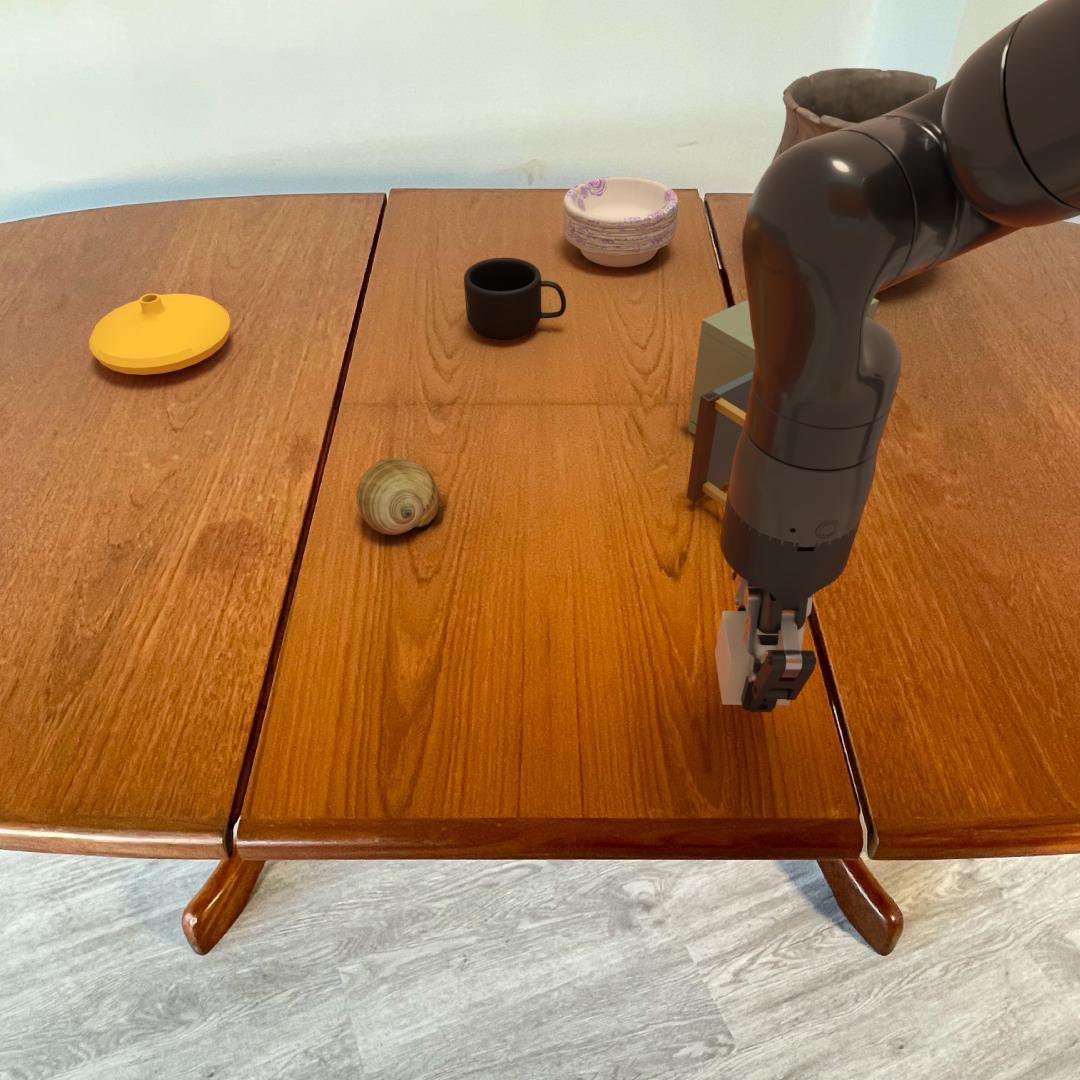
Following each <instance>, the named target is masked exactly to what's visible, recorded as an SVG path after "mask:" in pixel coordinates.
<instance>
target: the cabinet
mask: <svg viewBox="0 0 1080 1080" xmlns="http://www.w3.org/2000/svg"><path fill="white" fill-rule="evenodd" d="M878 305H879V299H876V298H875V297H874V298H873V300H872V302H871V304H870V307H869V309H868V312H867V315H866V316H868V317H870V318H872V319H874V320H875V316H876V313H877V312H876V311H877V309H878ZM697 349H698V351H697V358H696V364H695V373H694V381H693V388H692V395H691V404H690V409H689V410H690V411H689V418H688V419H689V421H688V424H687V425H688V426H687V431H688V432H689V433H691V434H692V435H694V436H695V432H696V425H697V418H698V411H699V403H700V396H701V395H703V394H705V393H707V392H709V391H711V390H712V391H713V390H715V389H717V388H720V387H722V386H724V385H726V384H728V383H730V382H732V381H734V380H736V379H738V378H740V377H742V376H744V375H746V374H748V373H750V372H752V371H754V368H755V364H756V356H755V348H754V341H753V336H752V329H751V322H750V312H749V303H748V299H746V300H744V301H742V302H738V303H736V304H735V305H732V306H730V307H728V308H726V309H723V310H721V311H718V312H716V313H714V314H712V315H709V316H707V317H705V318H703V319H701V328H700V336H699V342H698V348H697Z"/></svg>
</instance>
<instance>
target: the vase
mask: <svg viewBox="0 0 1080 1080" xmlns="http://www.w3.org/2000/svg"><path fill="white" fill-rule="evenodd" d="M231 321H232V320H231V318H230V315H229V312H228V311H227V310H226V309H225V308H224V307H223V306H222V305H221V304H219V303H218V302H216V301H214V300H212V299H210V298H207V297H206V296H202V295H198V294H197V295H196V294H192V293H191V294H190V293H166V294H158V293H147V294H144V295H142V296H140V298H139V299H137V300H134V301H130V302H127V303H126V304H123V305H121V306H119V307H117V308H114V309H113V310H112V311H110V312H108V313H107V314H105V315H104V316H103V317H102V318H100V320H99V321H98V322H97V323H96V324H95V326H94V328H93V330H92V332H91V335H90V337H89V339H88V346H89V351H90V352H91V353H92V354H93V356H94V357H95V358H96V359H97V361H98V362H99V363H100V364H101V365H102V366H104V367H106V368H108V369H110V370H111V371H114V372H118V373H122V374H127V375H140V376H141V375H142V376H145V375H157V374H158V375H159V374H165V373H166V374H167V373H169V372H174V371H179V370H182V369H185V368H187V367H191V366H193V365H196V364H198V363H200V362H202V361H204V360H206V359H208V358H209V357H211V356H212V355H213V354H215V353H216V352H218V350H220V349H221V348H223V346H224V345H225V343H226V342H227V340H228V339H229V335H230V331H231Z"/></svg>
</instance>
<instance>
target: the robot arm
mask: <svg viewBox="0 0 1080 1080" xmlns="http://www.w3.org/2000/svg"><path fill="white" fill-rule="evenodd" d="M771 162H772V161H771ZM771 162H770V164H769V166H768V167H767V168H766V169H765V171H764V172H763V174H762V175H761V177H760V179H759V180H758V183H757V185H756V186H755V188H754V190H753V192H752V195H751V197H750V200H749V203H748V206H747V209H746V213H745V216H744V220H743V226H742V233H741V234H742V235H741V252H742V253H741V255H742V264H743V265H742V266H743V272H744V280H745V287H746V295H747V300H748V303H749V312H750V322H751V329H752V336H753V341H754V348H755V356H756V364H755V368H754V372H753V378H752V382H751V388H750V394H749V399H748V405H747V411H746V416H745V422H744V426H743V429H742V432H741V435H740V437H739V440H738V443H737V446H736V450H735V454H734V459H733V464H732V470H731V476H730V482H728V488H727V493H726V494H727V500H726V505H725V507H724V511H723V517H722V523H721V530H720V536H719V543H720V544H719V545H720V550H721V553H722V555H723V558H724V560H725V562H726V564H727V565H729V567H730V568H731V569H732V571H733V572H732V574H731V578H732V581H733V584H734V592H735V597H734V598H733V603H734V606H735V610H736V611H746V619H745V629H744V638H743V640H744V643H745V646H746V649H747V652H748V653H749V654H750V655H749V664H748V669H747V676H746V680H745V685H744V689H743V693H742V697H741V702H742V705H741V708H742V710H744V711H746V712H749V713H772V712H773V710H775V709H776V706H777V705H776V703H777V699H786V700H791V701H795V700H796V699H797V698H798V696H799V695H800V693H801V692H802V690H803V688H804V687H805V685H806V684H807V682H808V681H809V679H810V677H812V676H811V675H812V674H813V673H814V671H815V669H816V665H817V657H816V654H815V652H814V650H813V649H812V650H811V649H810V650H808V649H807V650H805V649H804V650H803V649H802V648H803V641H804V637H805V636H804V635H805V627H806V622H807V621H806V620H807V618H808V617H809V616H810V615H811V613H812V608H813V599H814V594H817V593H818V592H819V591H821V590H822V589H825V588H826V587H828V586H830V585H832V584H833V583H834V582H835V581H836V580H837V579H838V578H839V577H840V576H841V575H842V574H843V572H844V571H845V569H846V567H847V564H848V561H849V558H850V555H851V552H852V549H853V547H854V542H855V539H856V537H857V532H858V530H859V527H860V523H861V520H862V517H863V514H864V511H865V508H866V505H867V502H868V498H869V496H870V493H871V489H872V487H873V481H874V478H875V474H876V466H877V458H878V452H879V449H880V448H879V447H880V444H881V441H882V438H883V434H884V432H885V428H886V424H887V422H888V419H889V415H890V412H891V409H892V406H893V403H894V399H895V397H896V393H897V389H898V385H899V381H900V376H901V371H902V370H901V369H902V354H901V350H900V349H901V348H900V345H899V343H898V341H897V339H896V337H895V336H894V334H893V333H892V332H891V331H890V330H889V329H888V328H887V327H886V325H884V324H882V323H881V322H879V321H877V320H875V318H874V319H872V318H870V317H868V316H866V315H867V312H868V309H869V307H870V304H871V302H872V300H873V298H874V299H875V297H876V294H878V293H880V292H882V291H884V290H886V289H888V288H890V287H893V286H895V285H898V284H900V283H901V282H904V281H906V280H908V279H910V278H913V277H916V276H917V275H920V274H922V273H924V272H926V271H928V270H930V269H933V268H935V267H937V266H940V265H942V264H944V263H946V262H949V261H951V260H954V259H956V258H958V257H960V256H962V255H966V254H967V253H969V252H971V251H973V250H976V249H978V248H980V247H983V246H985V245H987V244H990V243H992V242H995V241H997V240H999V239H1002V238H1004V237H1006V236H1008V235H1011V234H1013V233H1015V232H1017V231H1020V230H1022V229H1025V228H1026V229H1027V228H1037V227H1041V226H1042V227H1043V226H1047V225H1051V224H1054V223H1060V222H1063V221H1067V220H1070V219H1073V218H1076V217H1079V216H1080V0H1045V1H1044V2H1042V3H1040V4H1039V5H1037V6H1035V8H1033V9H1032V10H1030V11H1028V12H1027V13H1025V14H1023V15H1021V16H1019V18H1017V19H1016V20H1014V21H1012V22H1011V23H1009V24H1008V25H1006V26H1005V27H1003V28H1002V29H1001V30H999V31H998V32H996V33H995V34H994V35H993V36H991V37H990V38H989V39H988V40H986V41H985V42H984V43H983V44H982V45H981V46H979V47H978V48H976V50H975V51H974V52H973V53H972V54H971V55H969V57H967V58H966V59H965V61H964V62H963V64H962V65H961V66H960V68H958V70H957V72H956V74H955V76H954V78H952V79H950V80H948V81H947V82H945V83H943V84H941V85H940V86H938V87H937V88H935V90H933V91H931V92H929V93H928V94H926V95H924V96H922V97H920V98H918V99H916V100H914V101H912V102H910V103H908V104H906V105H904V106H902V107H900V108H897V109H895V110H893V111H891V112H889V113H886V114H884V115H881V116H878V117H875V118H872V119H869V120H866V121H863V122H860V123H857V124H854V125H851V126H848V127H845V128H842V129H840V130H837V131H834V132H830V133H827V134H824V135H821V136H817V137H814V138H811V139H809V140H806V141H803V142H801V143H798V144H796V145H794V146H793V147H791V148H789V149H788V150H786V151H785V152H783V153H782V154H781V155H779V156H778V157H777V158H776V159H775V160H774V161H773V162H772V163H771ZM757 629H758V630H759V631H760V632H762V633H764V634H778V635H757ZM764 655H765V657H766V659H765V661H764V663H761V657H762V656H764Z"/></svg>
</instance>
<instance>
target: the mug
mask: <svg viewBox="0 0 1080 1080" xmlns="http://www.w3.org/2000/svg"><path fill="white" fill-rule="evenodd" d="M542 287H548V288H552V289H555V291H556V292H557V294H558V295H559V299H560V309H559V310H558V311H551V312H544V311H542ZM463 288H464V299H465V300H464V301H465V312H466V319H467V322H468V323H469V326H470V327H471V329H472V330H473V331H474V332H475V333H476V334H477V335H479V336H480V337H482V338H485V339H489V340H493V341H513V340H519V339H521V338H525V337H526V336H528V335H530V334H531V333H532V332H534V330H536V328H537V326H538V325H539V323H540V321H541V320H542V319H555V318H558V317H561V316H563V315H564V313H565V311H566V310H567V309H566V308H567V299H566V295H565V292H564V290H563V288H562V287H561V286H560V284H558V283H557V282H555V281H553V280H542V275H541V272H540V270H539V268H538V267H537V266H535V264H533V263H531V262H529V261H527V260H525V259H520V258H516V257H492V258H488V259H484V260H481V261H478V262H476V263H474V264H473V265H471V266H470V267H468V269H466V271H465V273H464V275H463Z"/></svg>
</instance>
